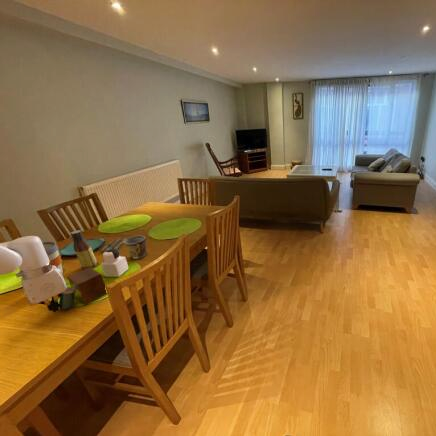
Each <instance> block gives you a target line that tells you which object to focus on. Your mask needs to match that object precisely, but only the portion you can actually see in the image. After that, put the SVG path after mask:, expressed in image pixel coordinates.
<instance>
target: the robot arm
mask: <svg viewBox="0 0 436 436" xmlns="http://www.w3.org/2000/svg"><path fill="white" fill-rule="evenodd" d="M42 242H43V241H42V240H41V238H40V237H39V236H36V235H26V236H21V237H18V238H15V239H13V240H10V241H5V242H0V275H8V274H12V273H13V272H15V271H17V270H18V269H19V271H18V272H17V273H15V274H14V275H15V277H16V278H20V280H21V281H20V282H21V287H22V289H23V292H24V294H25V297H26V299H27V300H28V305H29V307H34V306H37V305H44V306H45V305H46V307H47V308H46V309H47V310H48V311H49V312H52V313H56V312H59V311H60V308H59V307H60V305H59V299H60V296H61V294H62V292H64V291H65V290H68V289H67V287H68V286H67V283H66V284H65V282H66V281H65V282H64V280H65V279H64V280H63V278H64V277H63V278H62V276H61V274H60V273H59V271H58V270H57V269H56V268H55V267H52V265H51V263H50V261H49V258H48V256H47V253H46V251H45V249H44V246H43V244H42ZM49 299H50V300H49Z"/></svg>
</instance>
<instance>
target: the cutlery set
mask: <svg viewBox="0 0 436 436" xmlns="http://www.w3.org/2000/svg"><path fill="white" fill-rule="evenodd" d="M126 239H127V237H124V238H123V239H122V240H121V238H120V237H118V238H117V240H115V238H113V239H112V240H111V241H110V242H107V244H106V245H105V246H104V247H103V248H102V249H101V252H104V251H105V249H106V251H107V250H110V249H117V250H118V249H119V248H120V247H121V245H122V244H124V241H125V240H126ZM85 240H87V241H88V242H89V245H90V246H91V248H92V251H93V252H94V251H95V250H97V249H99V248H100V247H102V246H103V245H104V243H105V242H106V240H105V239H103V238H85ZM120 240H121V241H120ZM114 241H115V242H114ZM119 241H120V242H119ZM113 242H114V243H113ZM118 242H119V243H118ZM112 243H113V244H112ZM117 243H118V244H117ZM111 244H112V245H111ZM58 252H59V253H60V256H61V258H62V257H63V256H66V257H72V256H77V255H76V253H75V250H74V242H71V243H69V244H67V245H66V246H63V247H62V248H61V249H60V250H58Z"/></svg>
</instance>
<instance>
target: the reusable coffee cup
mask: <svg viewBox="0 0 436 436" xmlns="http://www.w3.org/2000/svg"><path fill="white" fill-rule="evenodd" d="M42 244H43V246H44V249H45V251H46V253H47V256H48V258H49V261H50V263H51V265H52V266H56V268H57V269H60V271H61V273H62V274H63V273H64V271H63V265H62V263H63V262H62V257H61V256H62V255H61V256H60V253H59V247H58V245H57V243H56V242H55V241H44V242H43V241H42Z"/></svg>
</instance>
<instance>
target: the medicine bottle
mask: <svg viewBox="0 0 436 436" xmlns="http://www.w3.org/2000/svg"><path fill="white" fill-rule="evenodd" d="M102 257H103V260H104V261H103V262H101V263H100V267H101V269H102V273H103V275H104V277H111V278H112V277H113V278H120V277H121V276H122V275H123V274H124V273H125V272H127V270H129V269H130V268H129V265H128V261H127V258H126V256H121V254H120V252H119V250H118V249H114V248H113V249H110V250H106V251H105V250H104V251H103V253H102Z"/></svg>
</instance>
